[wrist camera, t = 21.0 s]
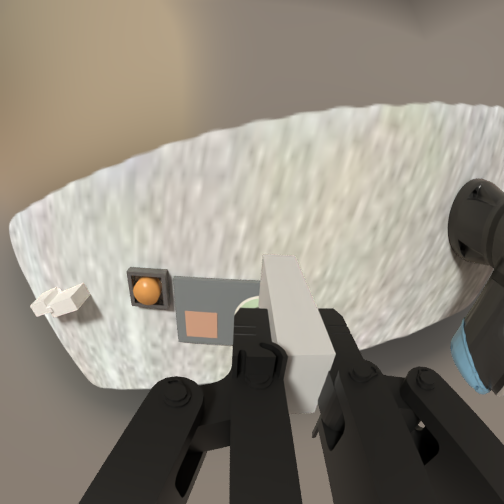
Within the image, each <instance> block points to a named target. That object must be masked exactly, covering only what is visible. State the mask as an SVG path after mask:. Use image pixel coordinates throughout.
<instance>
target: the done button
mask: <svg viewBox="0 0 504 504" xmlns="http://www.w3.org/2000/svg"><path fill="white" fill-rule="evenodd" d="M161 292H162V283H161V281H160V280H159V279H158V278H157V277H145V276H141V277H140V279H139V280H138V282H137V283H136V285H135V286H134V289H133V293H134V296H135V298H136V299H137V300H138V301H139V302H140V303H142V304H144V305H153V304H155V303H156V302H157V300H158V298H159V296H160V294H161Z"/></svg>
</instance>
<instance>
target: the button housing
mask: <svg viewBox="0 0 504 504" xmlns="http://www.w3.org/2000/svg"><path fill="white" fill-rule="evenodd" d="M135 276H145V277H159V278H161V281H162V292H163V300H157V302H156V303H155V304H153V305H144V304H142V303H140V302H139V301H138V300H137V299H136V298H135V296H134V293H133V289H134V286H135V285H136V282H135ZM127 277H128V284H129V291H130V297H131V303H132V306H139V307H148V308H159V309H168V308H169V306H170V297H169V285H168V272H167V269H151V268H137V267H130V268H129V269H128V270H127Z"/></svg>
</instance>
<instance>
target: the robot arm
mask: <svg viewBox="0 0 504 504" xmlns="http://www.w3.org/2000/svg"><path fill="white" fill-rule="evenodd" d="M448 233H449V240H450V244H451V246H452V249H453V250H454V252H455V253H456V254H457V255H458V256H460V257H461V258H463V259H464V260H466V261H468V262H472V263H478V264H483V265H489V266H491V267H493V268H494V271H493V273H492V275H491V277H490V278H489V280H488V282H487V284H486V285H485V287H484V289H483V291H482V292H481V294H480V296H479V297H478V299H477V300H476V302H475V304H474V305H473V307H472V309H471V310H470V311H469V313H468V315H467V316H466V317H465V318H464V319H463V320H462V324H461V325H460V327H459V328H458V330H457V331H456V333H455V335H454V336H453V338H452V340H451V353H452V357H453V360H454V362H455V365H456V366H457V368H458V370H459V372H460V373H461V375H462V376H463V378H464V379H465V380H466V382H467V383H468V384H469V385H470V386H471V387H473V388H474V389H475V391H476V392H478V393H479V394H486V393H488V392H490V391H491V390H492V391H493V392H494V393H495V394H496V396H497V397H499V396H504V192H503V191H502V190H500V189H499V188H498V187H497V186H496V185H495V184H493V183H492V182H490V181H487V180H483V179H473V180H471V181H469V182H468V183H466V184H465V185H464V186H463V187H462V188H461V190H460V191H459V193H458V194H457V196H456V198H455V200H454V203H453V205H452V208H451V212H450V217H449V224H448ZM258 306H259V308H239V310H238V311H237V312H236V314H235V315H234V331H233V356H232V368H231V370H230V372H229V374H228V375H227V376H226V377H225V378H223V379H222V380H220V381H218V382H215V383H211V384H206V385H201V386H199V385H198V384H197V383H196V382H195V381H192V380H190V379H188V378H185V377H177V376H176V377H169V378H165V379H163V380H161V381H159V382H157V383H156V384H155V385H154V386H153V387H152V389H151V390H150V392H149V393H148V395H147V397H146V398H145V400H144V401H143V403H142V404H141V406H140V407H139V409H138V411H137V412H136V414H135V415H134V417H133V418H132V420H131V421H130V423H129V425H128V426H127V428H126V429H125V431H124V433H123V434H122V436H121V437H120V439H119V440H118V442H117V444H116V445H115V446H114V448H113V450H112V451H111V453H110V455H109V456H108V457H107V459H106V461H105V462H104V464H103V465H102V467H101V469H100V470H99V472H98V473H97V475H96V477H95V478H94V480H93V481H92V483H91V485H90V486H89V488H88V489H87V491H86V492H85V494H84V496H83V497H82V499H81V501H80V502H79V504H186V503H187V500H188V498H189V495H190V493H191V490H192V488H193V485H194V483H195V480H196V478H197V476H198V473H199V471H200V468H201V466H202V463H203V461H204V458H205V456H206V453H207V451H209V450H214V449H218V448H223V447H227V446H230V504H302V498H301V491H300V484H299V477H298V470H297V463H296V457H295V450H294V444H293V437H292V430H291V424H290V417H289V414H301V413H314V412H315V409H316V406H317V404H318V405H319V409H320V413H321V415H320V417H319V419H318V421H317V423H316V426H315V428H314V430H313V432H312V438H315V437H316V435H317V433H318V431H319V435H320V439H321V444H322V449H323V453H324V457H325V463H326V467H327V472H328V477H329V482H330V487H331V492H332V497H333V502H334V504H504V445H503V444H502V443H501V442H500V440H499V439H498V438H497V437H496V436H495V435H494V433H493V432H492V431H491V430H490V429H489V428H488V427H487V426H486V424H485V423H484V422H483V421H482V420H481V419H480V418H479V417H478V416H477V414H476V413H475V412H474V411H473V410H472V409H471V408H470V407H469V406H468V405H467V404H466V403H465V402H464V400H463V399H462V398H461V397H460V396H459V395H458V394H457V393H456V392H455V391H454V390H453V389H452V388H451V387H450V386H449V385H448V383H447V382H446V381H444V379H443V378H442V377H441V376H440V375H439V374H438V373H436V372H435V371H434V370H432V369H429V368H427V367H416V368H413V369H411V370H410V371H409V372H408V374H407V376H406V377H405V378H402V377H394V376H386V375H383V374H382V373H381V371H380V370H379V368H378V367H377V366H376V365H375V364H373V363H372V362H370V361H367V360H364V359H363V357H362V355H361V353H360V351H359V349H358V347H357V345H356V343H355V341H354V339H353V337H352V335H351V334H350V331H349V328H348V327H347V325H346V323H345V321H344V319H343V317H342V315H340V314H339V313H338V312H337V311H336V310H335V309H318V308H317V306H316V303H315V301H314V298H313V296H312V293H311V291H310V289H309V286H308V284H307V281H306V279H305V277H304V274H303V272H302V270H301V267H300V265H299V263H298V260H297V258H296V256H295V255H277V254H263V259H262V270H261V281H260V292H259V303H258ZM420 421H422V422H423V424H424V425H425V427H424V428H422V427H420V426H418V424H419V422H420Z"/></svg>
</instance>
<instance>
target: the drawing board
mask: <svg viewBox="0 0 504 504" xmlns="http://www.w3.org/2000/svg"><path fill="white" fill-rule="evenodd" d="M173 285H174V298H175V310H176V320H177V330H178V339H179V342H188V343H200V344H215V345H233V331H234V315H235V314H236V312H237V311H238V310H239V308H256V307H259V306H258V303H259V292H260V281H256V280H234V279H215V278H197V277H181V276H174V278H173Z"/></svg>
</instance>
